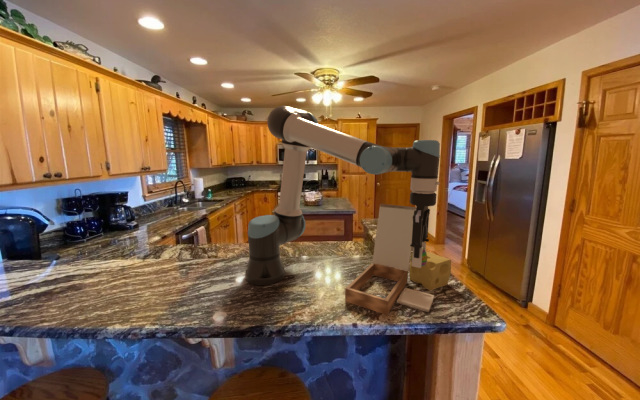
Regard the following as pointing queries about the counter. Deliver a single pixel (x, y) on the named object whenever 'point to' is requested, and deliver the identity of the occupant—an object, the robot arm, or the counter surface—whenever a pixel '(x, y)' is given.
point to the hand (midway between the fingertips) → (418, 263)
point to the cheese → (432, 272)
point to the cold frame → (371, 300)
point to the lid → (394, 236)
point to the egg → (424, 257)
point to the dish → (416, 299)
